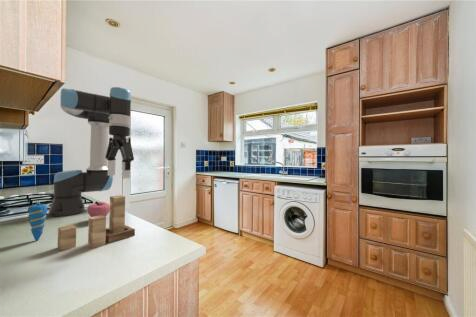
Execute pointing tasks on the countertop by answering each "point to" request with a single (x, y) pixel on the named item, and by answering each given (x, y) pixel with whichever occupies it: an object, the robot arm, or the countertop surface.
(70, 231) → the short pin
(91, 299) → the countertop surface
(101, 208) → the apple
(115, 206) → the long pin
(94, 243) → the medium pin
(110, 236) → the collar block
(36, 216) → the ornament
